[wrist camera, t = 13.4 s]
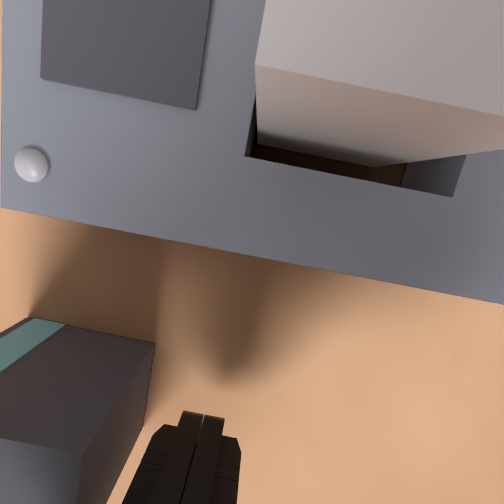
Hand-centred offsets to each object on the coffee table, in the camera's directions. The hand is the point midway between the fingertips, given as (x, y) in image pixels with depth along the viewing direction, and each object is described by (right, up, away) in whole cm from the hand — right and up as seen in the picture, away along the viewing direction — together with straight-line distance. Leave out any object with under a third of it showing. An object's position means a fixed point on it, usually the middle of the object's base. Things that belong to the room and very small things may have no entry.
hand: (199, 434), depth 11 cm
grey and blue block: (-5, +1, +2) cm, 5 cm away
